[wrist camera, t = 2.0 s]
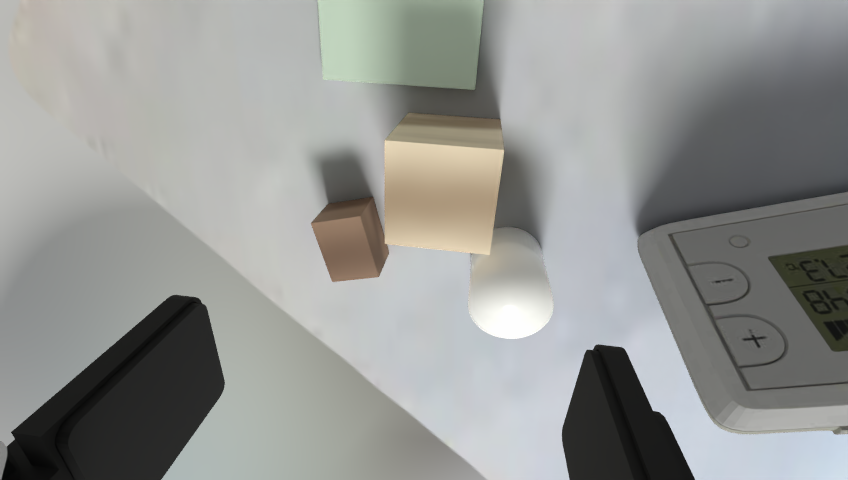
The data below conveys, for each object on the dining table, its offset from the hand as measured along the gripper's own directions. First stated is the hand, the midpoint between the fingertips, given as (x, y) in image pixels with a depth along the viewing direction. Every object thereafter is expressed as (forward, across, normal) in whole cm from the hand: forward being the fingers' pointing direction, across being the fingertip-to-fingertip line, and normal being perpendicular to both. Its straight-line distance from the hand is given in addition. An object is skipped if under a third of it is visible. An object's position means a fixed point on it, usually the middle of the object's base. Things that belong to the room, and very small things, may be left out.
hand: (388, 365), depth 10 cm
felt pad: (+15, +2, -9) cm, 18 cm away
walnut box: (+16, +5, +4) cm, 17 cm away
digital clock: (+16, -20, +2) cm, 25 cm away
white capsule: (+16, -4, +5) cm, 17 cm away
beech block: (+16, 0, -1) cm, 16 cm away
